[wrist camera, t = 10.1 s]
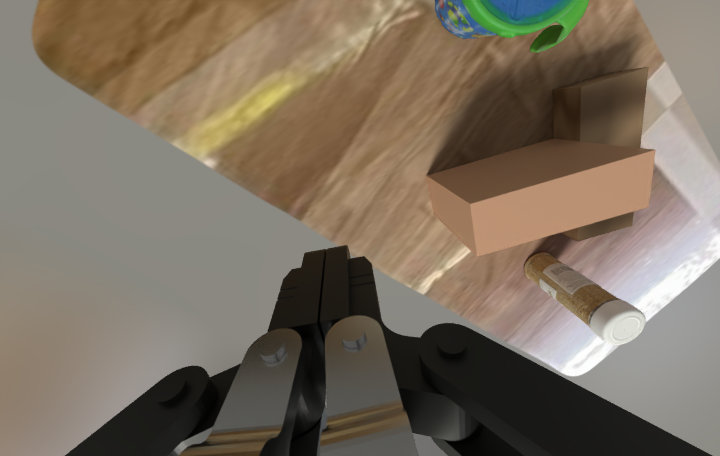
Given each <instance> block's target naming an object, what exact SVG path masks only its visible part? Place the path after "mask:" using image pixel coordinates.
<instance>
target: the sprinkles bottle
mask: <svg viewBox="0 0 720 456" xmlns="http://www.w3.org/2000/svg"><path fill="white" fill-rule="evenodd" d="M524 272H525V275H526V276H527V277H528V278H529V279H530V280H533V281H534V282H535V283H536V284H538V285H539V286H540V287H541V288H542V289H543V290H544V291H546V292H547V293H548V294H549V295H551V296H552V297H553V298H554V299H556V300H557V301H558V302H559V303H560V304H562V305H563V306H564V307H565V308H567V309H568V310H570V311H571V312H572V313H574V314H575V315H576V316H577V317H578V318H580V319H581V320H582V321H583V322H585V323H586V324H587V325H588V326H589V327H590V328H591V330H592V331H593V332H594V333H595V334H596V335H597V336H599V337H600V338H601V339H602V340H604V341H605V342H606V343H608V344H611V345H621V344H625V343H627V342H629V341H631V340H633V339H634V338H635V337H637V336H638V335H639V334H640V332H641V331H642V330H643V328H644V326H645V316H644V314H643V313H642V312H641V311H640V310H638V309H637V308H635V307H634V306H632V305H631V304H629V303H627V302H626V301H623V300H621V299H618V298H616V297H615V296H613V295H612V294H610V293H609V292H607V291H606V290H604V289H602V288H601V287H600V286H599V285H597V284H596V283H594V282H593V281H591V280H589V279H588V278H586V277H585V276H583V275H582V274H580V273H578V272H577V271H575V270H574V269H572V268H570V267H569V266H567V265H565V264H563V263H561V262H560V261H558V260H557V259H555V258H554V257H553V256H552V255H551V254H549V253H546V252H541V253H537V254H535V255H533V256H532V257H530V258H529V259H528V261H527V262H526V263H525V267H524Z"/></svg>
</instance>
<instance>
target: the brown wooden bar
mask: <svg viewBox="0 0 720 456" xmlns="http://www.w3.org/2000/svg"><path fill="white" fill-rule="evenodd" d="M647 75H648V67H644V68H638V69H631V70H624V71H617V72H611V73H608V74H605V75H601V76H598V77H594V78H591V79H588V80H584V81H581V82H578V83H574V84H571V85H567V86H564V87H561V88H557V89H554V90H553V131H554V138H555V139H563V140H572V141H581V142H590V143H599V144H608V145H617V146H625V147H634V148H640V144H641V134H642V124H643V114H644V105H645V95H646V85H647ZM633 212H634V211H633ZM633 212H630V213H626V214H623V215H619V216H616V217H612V218H609V219H605V220H602V221H599V222H595V223H592V224H588V225H585V226H581V227H578V228H574V229H571V230H568V231H564V232H561V233H562V234H564V235H566V236H568V237H570V238H572V239H574V240H576V241H581V240H584V239H588V238H591V237H595V236H598V235H602V234H605V233H609V232H612V231H616V230H619V229H622V228H626V227H629V226H632V222H633Z"/></svg>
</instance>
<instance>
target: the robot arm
mask: <svg viewBox="0 0 720 456" xmlns="http://www.w3.org/2000/svg"><path fill="white" fill-rule="evenodd" d="M325 399H326V402H327V408H326V405H325ZM413 433H416V434H421V435H425V436H430V437H432V439H433V441H434V442H435V443H436V444H437V445H438V446H439V448H441V449H442V450H443V451H444V452H445V453H446V454H447V455H448V456H712V455H710V454H708V453H706V452H704V451H703V450H701V449H699V448H697V447H695V446H693V445H691V444H689V443H687V442H685V441H683V440H682V439H680V438H678V437H676V436H674V435H672V434H670V433H668V432H666V431H664V430H662V429H660V428H659V427H657V426H655V425H653V424H651V423H649V422H647V421H645V420H643V419H641V418H640V417H638V416H636V415H634V414H632V413H630V412H628V411H626V410H624V409H622V408H620V407H618V406H617V405H615V404H613V403H611V402H609V401H607V400H605V399H603V398H601V397H599V396H598V395H596V394H594V393H592V392H590V391H588V390H586V389H584V388H582V387H580V386H578V385H577V384H575V383H573V382H571V381H569V380H567V379H565V378H563V377H561V376H559V375H558V374H556V373H554V372H552V371H550V370H548V369H546V368H544V367H542V366H540V365H538V364H537V363H535V362H533V361H531V360H529V359H527V358H525V357H523V356H521V355H519V354H517V353H515V352H514V351H512V350H510V349H508V348H506V347H504V346H502V345H500V344H498V343H496V342H494V341H493V340H491V339H489V338H487V337H485V336H483V335H481V334H479V333H477V332H475V331H473V330H472V329H469V328H467V327H465V326H462V325H459V324H453V323H444V324H438V325H435V326H432V327H431V328H429V329H428V330H426V331H425V332H424V333H423V334H422V336H421V338H418V337H409V336H402V335H400V334H397V333H394V332H393V331H391V330H389V329H388V328H387V327H386V326H385V325H384V324H383V322H382V319H381V313H380V307H379V302H378V296H377V291H376V285H375V280H374V275H373V269H372V264H371V263H370V262H369V261H368V260H367V259H366V258H365V257H364V256H363V257H357V258H352V259H351V258H350V253H349V249H348V246H347V245H345V246H339V247H334V248H329V249H327V250H326V249H323V250H318V251H312V252H306V253H305V254H304V257H303V262H302V266H301V268H296V269H292V270H291V271H290V272H289V273H288V275H287V276H286V277H285V278H284V279H283V283H282V286H281V289H280V292H279V295H278V301H277V302H276V305H275V309H274V312H273V315H272V319H271V322H270V325H269V329H268V332H267V333H266V334H264V335H262V336H261V337H259V338H258V339H257V340H256V341H254V343H253V344H252V345H251V346H250V347H249V349H248V350H247V352H246V354H245V356H244V358H243V361H242V363H241V364H239V365H237V366H235V367H232V368H230V369H228V370H226V371H223V372H221V373H219V374H217V375H214V376H212V377H209V375H208V374H207V372H206V371H205V369H203V368H202V367H199V366H188V367H184V368H181V369H179V370H176V371H174V372H172V373H171V374H169V375H167V376H166V377H164V378H163V379H162V380H160V381H159V382H158V383H156V384H155V385H154V386H153V387H151V388H150V389H149V390H148V391H147V392H145V393H144V394H143V395H141V396H140V397H139V398H137V399H136V400H135V401H134V402H132V403H131V404H130V405H129V406H127V407H126V408H125V409H123V410H122V411H121V412H120V413H118V414H117V415H116V416H115V417H113V418H112V419H111V420H110V421H108V422H107V423H106V424H104V425H103V426H102V427H101V428H100V429H98V430H97V431H96V432H94V433H93V434H92V435H91V436H90V437H88V438H87V439H86V440H84V441H83V442H82V443H80V444H79V445H78V446H77V447H76V448H74V449H73V450H71V451H70V452H69V453H68V454H66V455H65V456H419V455H418V451H417V448H416V444H415V440H414V437H413Z"/></svg>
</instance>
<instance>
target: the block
mask: <svg viewBox="0 0 720 456" xmlns="http://www.w3.org/2000/svg"><path fill="white" fill-rule="evenodd" d="M654 158H655V150H652V149H643V148H634V147H625V146H617V145H608V144H599V143H590V142H581V141H572V140H563V139H555V138H553V139H549V140H546V141H543V142H539V143H536V144H532V145H529V146H526V147H522V148H519V149H515V150H512V151H509V152H505V153H502V154H498V155H495V156H491V157H488V158H485V159H481V160H478V161H474V162H471V163H468V164H464V165H461V166H457V167H454V168H451V169H447V170H444V171H440V172H437V173H434V174H430V175H427V176H426V177H427V182H428V187H429V193H430V198H431V204H432V209H433V214H434V215H435V216H436V217H437V218H438V219H439V220H440V221H441V222H442V223H443V224H444V225H445V226H446V227H447V228H448V229H449V230H450V231H451V232H452V233H453V234H454V235H455V236H456V237H457V238H458V239H459V240H460V241H461V242H462V243H463V244H464V245H465V246H467V247H468V248H469V249H470V250H471V251H472V252H473V253H474V254H475V255H476V256H477V257H478V256H481V255H485V254H488V253H492V252H495V251H499V250H502V249H505V248H509V247H512V246H516V245H519V244H523V243H526V242H530V241H533V240H536V239H540V238H543V237H547V236H550V235H554V234H557V233H561V232H564V231H568V230H571V229H574V228H578V227H581V226H585V225H588V224H592V223H595V222H599V221H602V220H605V219H609V218H612V217H616V216H619V215H623V214H626V213H630V212H633V211H637V210H640V209H643V208H647V207H649V199H650V191H651V182H652V174H653V166H654Z"/></svg>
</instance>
